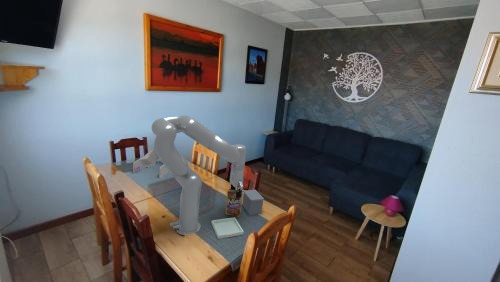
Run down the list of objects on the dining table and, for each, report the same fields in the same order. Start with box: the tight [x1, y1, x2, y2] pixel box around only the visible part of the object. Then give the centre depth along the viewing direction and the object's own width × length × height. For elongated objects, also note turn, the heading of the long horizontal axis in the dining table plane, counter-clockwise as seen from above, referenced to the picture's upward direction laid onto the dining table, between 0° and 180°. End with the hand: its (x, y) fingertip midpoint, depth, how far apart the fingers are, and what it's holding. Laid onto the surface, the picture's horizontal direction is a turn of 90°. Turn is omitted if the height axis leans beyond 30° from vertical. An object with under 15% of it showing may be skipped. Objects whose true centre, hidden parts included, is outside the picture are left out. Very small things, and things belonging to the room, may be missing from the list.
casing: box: [132, 147, 170, 179], centre depth 185 cm, size 28×23×20 cm
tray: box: [211, 216, 245, 240], centre depth 122 cm, size 14×14×2 cm
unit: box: [242, 189, 265, 216], centre depth 143 cm, size 9×13×11 cm
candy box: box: [224, 188, 244, 218], centre depth 135 cm, size 9×4×15 cm, turn 81°
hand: (235, 193), depth 134 cm, fingers open, 9 cm apart
